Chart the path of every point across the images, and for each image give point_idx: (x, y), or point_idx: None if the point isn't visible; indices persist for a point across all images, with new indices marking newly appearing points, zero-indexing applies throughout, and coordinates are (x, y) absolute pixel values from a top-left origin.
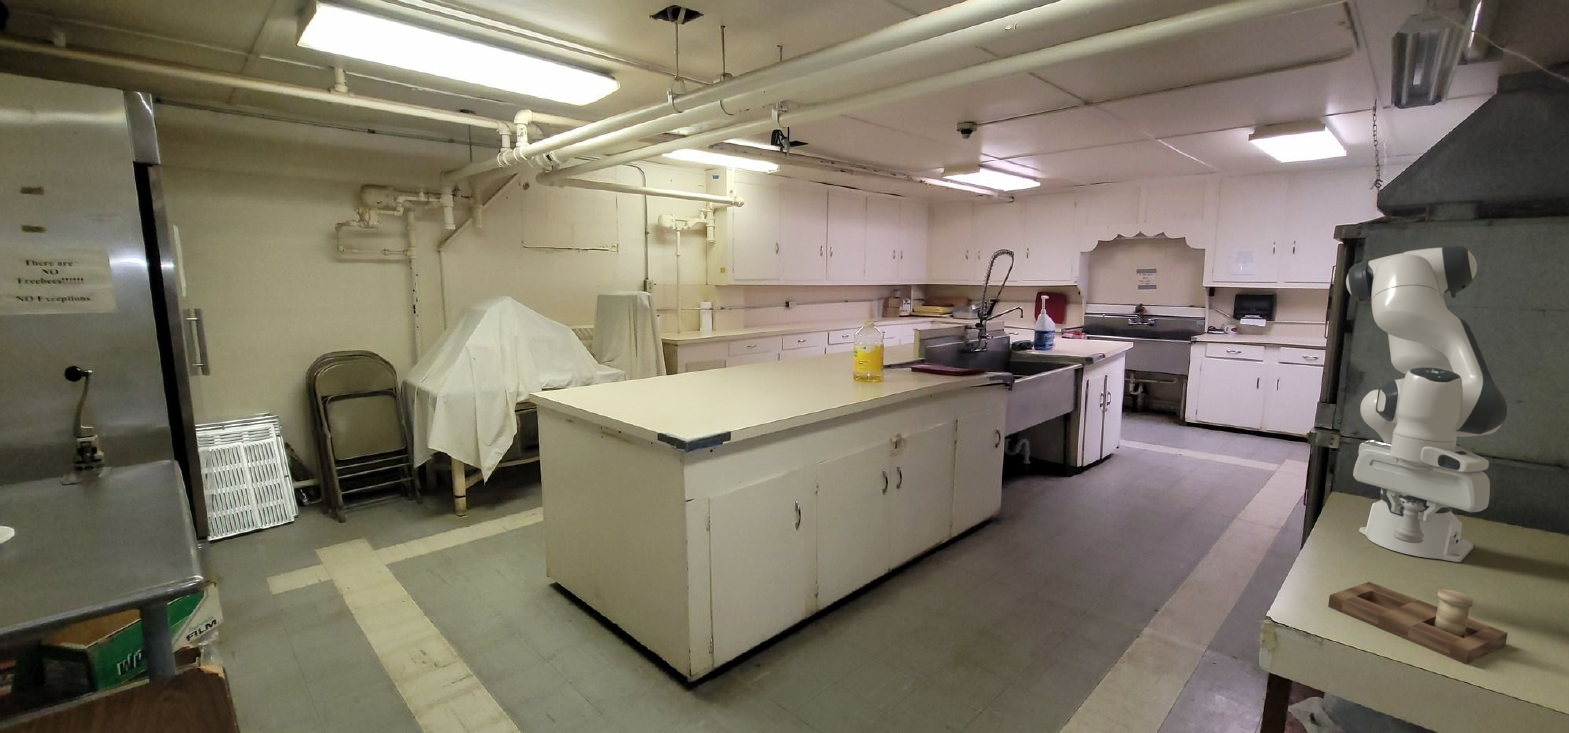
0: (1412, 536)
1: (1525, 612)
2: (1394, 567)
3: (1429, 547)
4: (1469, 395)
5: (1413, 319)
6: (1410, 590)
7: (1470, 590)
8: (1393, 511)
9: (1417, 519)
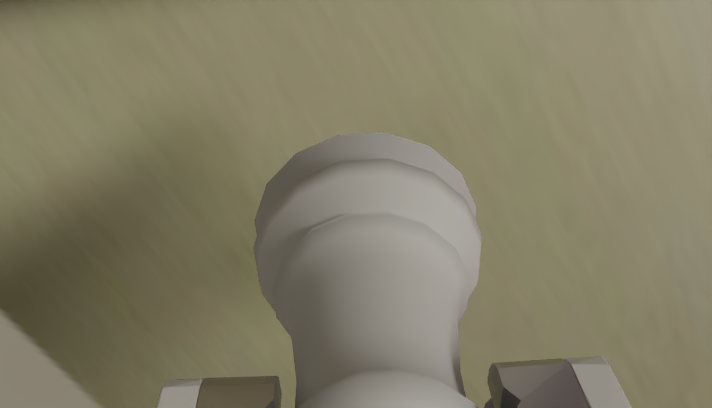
0: (283, 193)
1: (147, 370)
2: (537, 319)
3: None
4: None
5: None
6: None
7: None
8: (573, 360)
9: (298, 390)
